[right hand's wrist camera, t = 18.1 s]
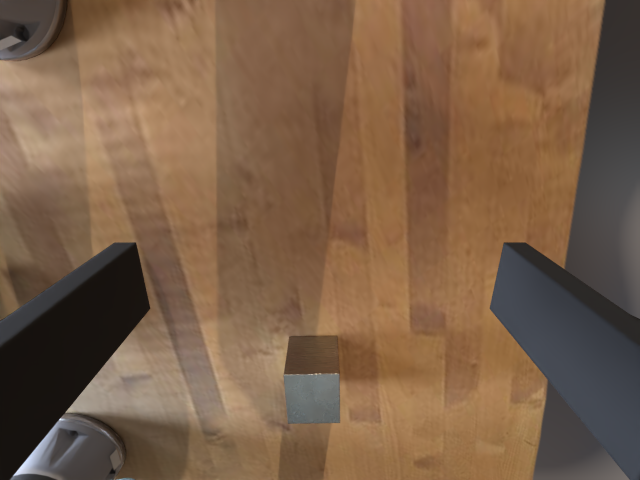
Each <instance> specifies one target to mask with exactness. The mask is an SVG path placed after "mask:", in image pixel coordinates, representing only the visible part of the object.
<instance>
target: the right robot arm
mask: <svg viewBox="0 0 640 480" xmlns="http://www.w3.org/2000/svg"><path fill="white" fill-rule="evenodd" d="M66 7H67V0H0V60H5V61H21V60H26V59H29V58H32V57H35V56H37V55H39V54H40V53H42V52H44V51H45V50H46V49H47V48H48V47H49V46H50V45H51V44H52V43H53V42H54V41H55V39H56V38H57V36H58V34H59V32H60V30H61V28H62V25H63V22H64V19H65V14H66ZM149 309H150V305H149V300H148V296H147V291H146V286H145V282H144V277H143V272H142V268H141V263H140V259H139V254H138V249H137V245H136V243H113V244H112V245H110V246H109V247H107V248H106V249H105V250H103V251H102V252H100V253H99V254H97V255H96V256H94V257H93V258H91V259H90V260H89V261H87V262H86V263H84V264H83V265H81V266H80V267H78V268H77V269H75V270H74V271H73V272H71V273H70V274H68V275H67V276H65V277H64V278H62V279H61V280H60V281H58V282H57V283H55V284H54V285H52V286H51V287H49V288H48V289H46V290H45V291H44V292H42V293H41V294H39V295H38V296H36V297H35V298H33V299H32V300H30V301H29V302H28V303H26V304H25V305H23V306H22V307H20V308H19V309H17V310H16V311H14V312H13V313H12V314H10V315H9V316H7V317H6V318H4V319H3V320H1V321H0V480H10V479H11V478H12V477H13V476H14V474H15V473H16V472H17V471H18V469H19V468H20V467H21V466H22V465H23V463H24V462H25V461H26V460H27V458H28V457H29V456H30V455H31V454H32V452H33V451H34V450H35V449H36V447H37V446H38V445H39V444H40V443H41V441H42V440H43V439H44V438H45V437H46V435H47V434H48V433H49V432H50V430H51V429H52V428H53V427H54V426H55V424H56V423H57V422H58V421H59V419H60V418H61V417H62V416H63V415H64V413H65V412H66V411H67V410H68V408H69V407H70V406H71V405H72V404H73V402H74V401H75V400H76V399H77V397H78V396H79V395H80V394H81V393H82V391H83V390H84V389H85V388H86V386H87V385H88V384H89V383H90V382H91V380H92V379H93V378H94V377H95V375H96V374H97V373H98V372H99V371H100V369H101V368H102V367H103V366H104V364H105V363H106V362H107V361H108V360H109V358H110V357H111V356H112V355H113V353H114V352H115V351H116V350H117V349H118V347H119V346H120V345H121V344H122V342H123V341H124V340H125V339H126V338H127V336H128V335H129V334H130V333H131V331H132V330H133V329H134V328H135V327H136V325H137V324H138V323H139V322H140V320H141V319H142V318H143V317H144V316H145V314H146V313H147V312H148V311H149ZM490 309H491V311H492V312H493V313H494V314H495V316H496V317H497V318H498V319H499V320H500V322H501V323H502V324H503V325H504V327H505V328H506V329H507V330H508V331H509V333H510V334H511V335H512V336H513V338H514V339H515V340H516V341H517V342H518V344H519V345H520V346H521V347H522V349H523V350H524V351H525V352H526V353H527V355H528V356H529V357H530V358H531V360H532V361H533V362H534V363H535V364H536V366H537V367H538V368H539V369H540V371H541V372H542V373H543V374H544V375H545V377H546V378H547V379H548V380H549V382H550V383H551V384H552V385H553V386H554V388H555V389H556V390H557V391H558V393H559V394H560V395H561V396H562V397H563V399H564V400H565V401H566V402H567V404H568V405H569V406H570V407H571V408H572V410H573V411H574V412H575V413H576V414H577V416H578V417H579V418H580V419H581V421H582V422H583V423H584V424H585V425H586V427H587V428H588V429H589V430H590V432H591V433H592V434H593V435H594V436H595V438H596V439H597V440H598V441H599V443H600V444H601V445H602V446H603V447H604V449H605V450H606V451H607V452H608V454H609V455H610V456H611V457H612V458H613V460H614V461H615V462H616V463H617V465H618V466H619V467H620V468H621V469H622V471H623V472H624V473H625V474H626V476H627V477H628V478H629V479H630V480H640V319H638V318H636V317H634V316H632V315H630V314H628V313H627V312H626V311H624V310H623V309H621V308H620V307H618V306H617V305H615V304H614V303H612V302H611V301H610V300H608V299H607V298H605V297H604V296H602V295H601V294H599V293H598V292H596V291H595V290H593V289H592V288H591V287H589V286H588V285H586V284H585V283H583V282H582V281H580V280H579V279H578V278H576V277H575V276H573V275H572V274H570V273H569V272H567V271H566V270H565V269H563V268H562V267H560V266H559V265H557V264H556V263H554V262H553V261H551V260H550V259H549V258H547V257H546V256H544V255H543V254H541V253H540V252H538V251H537V250H535V249H534V248H533V247H531V246H530V245H528V244H527V243H504V245H503V249H502V254H501V259H500V263H499V268H498V272H497V277H496V282H495V286H494V291H493V296H492V300H491V305H490Z"/></svg>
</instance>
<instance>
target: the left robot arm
mask: <svg viewBox="0 0 640 480" xmlns="http://www.w3.org/2000/svg"><path fill="white" fill-rule="evenodd" d="M125 458H126V450H125V446H124V444H123V442H122V440H121V439H120V437H119V436H118V435H117V434H116V433H115V432H114V431H113V430H112V429H111V428H110V427H108V426H107V425H105V424H104V423H102V422H100V421H98V420H96V419H93V418H90V417H87V416H84V415H79V414H64V415H63V416H62V417H61V418H60V419H59V421H58V422H57V423H56V424H55V426H54V427H53V428H52V429H51V430H50V432H49V433H48V434H47V435H46V437H45V438H44V439H43V440H42V441H41V443H40V444H39V445H38V446H37V447H36V449H35V450H34V451H33V452H32V454H31V455H30V456H29V457H28V458H27V460H26V461H25V462H24V463H23V465H22V466H21V467H20V468H19V469H18V471H17V472H16V473H15V474H14V476H13V477H12V478H11V479H10V480H113V479H114V478H115V476H116V475H117V474H118V473H119V471H120V469H121V467H122V465H123V464H124V462H125ZM118 480H135V479H132V478H123V479H118Z"/></svg>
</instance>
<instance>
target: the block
mask: <svg viewBox="0 0 640 480" xmlns="http://www.w3.org/2000/svg"><path fill="white" fill-rule="evenodd" d="M284 383H285V395H286V407H287V418H288V424H293V423H340V374H339V357H338V341H337V336H300V337H289V343H288V350H287V356H286V363H285V370H284Z"/></svg>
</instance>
